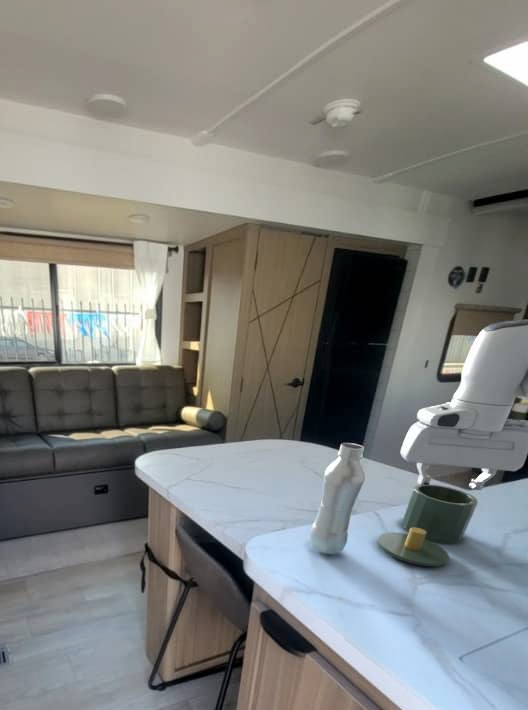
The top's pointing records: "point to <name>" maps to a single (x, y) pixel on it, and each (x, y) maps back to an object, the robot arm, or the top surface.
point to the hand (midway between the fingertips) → (448, 486)
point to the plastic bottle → (338, 500)
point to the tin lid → (413, 548)
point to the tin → (439, 512)
